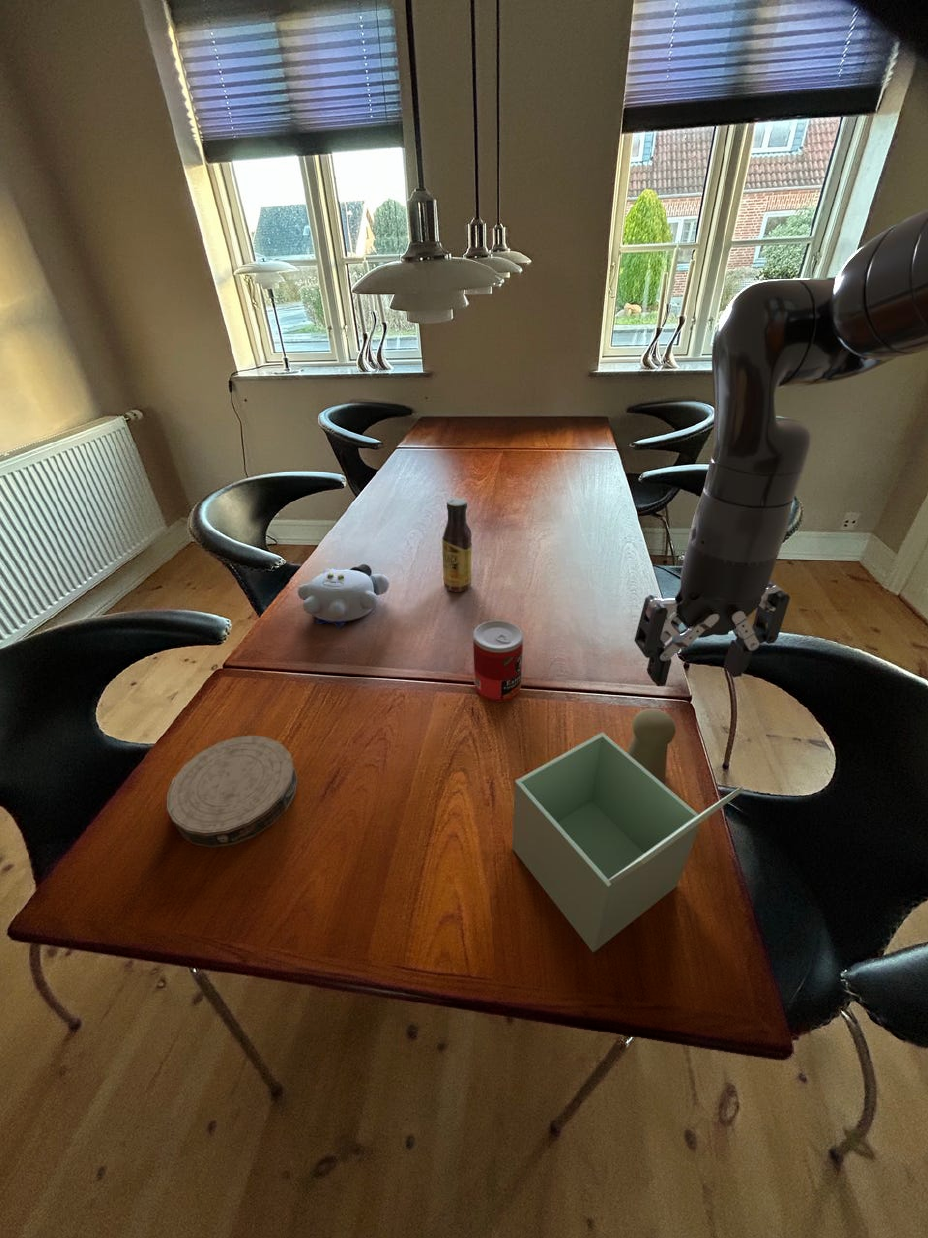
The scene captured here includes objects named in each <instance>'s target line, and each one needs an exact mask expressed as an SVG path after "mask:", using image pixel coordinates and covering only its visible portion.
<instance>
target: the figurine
mask: <svg viewBox="0 0 928 1238" xmlns="http://www.w3.org/2000/svg"><path fill="white" fill-rule="evenodd" d="M389 588H390V581H389V578H388V577H387V576H386V575H384V574H381V573H375V574H373V571H372V568H371V567H370V566H369V565H368V564H366V563H362V564H360V565H359V566H353V567H351V568H349V569H336V568H326V569H324V570H323V571H322V572H321V574H318V575H317V576H315V577H314V578H312V580H310V582H309V583H304V584H301V585H300V586H299V587H298V590H297V595H298V597H299V598H300V599H301V600H302V601H303V605H302V608H303V611H304V612H305V613H306V614H308V615H313V617H315V618H316V623H317V624H318V625H322V624H324V623H328V624H335V626H337V627H338V628H341V627H342V626H344V625H346V623H347V622H349V621H353V620H358V619H360V618H362V617H364V616H366V615H369V613H371V611H372V610H373V609H375V608H376V607H377V606H378V604H379V598H378V596H380V595H383V594H385V593H387V592H388V590H389Z"/></svg>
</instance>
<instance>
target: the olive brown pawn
mask: <svg viewBox="0 0 928 1238" xmlns="http://www.w3.org/2000/svg"><path fill="white" fill-rule="evenodd" d="M632 732H633V736H632V739H631V741H630V743H629V745H628V748H627V751H626V753H627V754H629V755H630V756H631V757H632V758H633V759H634V760H636V761H637V762H638V763H639V764H640V765H641V766H643V767H644V768H645V769H646V770H647V771H648V772H650V773H651V774H652V775H653V776H654V777H655V778H657V779H658V780H659V781H660V782H661V783H662V784H664V785H665V784H666V772H667V759H668V746H669V744H670V743H671V742H672V741H673V740H674V737H675V736H676V724H675V722H674V719H673V718H672V716H671V715H670V714H669V713H667V712H665V711H664V710H661V709H658V708H653V707H652V708H651V707H649V708H644V709H642V710H640V711H639V712H638V713H637V714H636V715H635V716H634V718H633V720H632Z"/></svg>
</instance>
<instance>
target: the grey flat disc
mask: <svg viewBox="0 0 928 1238" xmlns="http://www.w3.org/2000/svg"><path fill="white" fill-rule="evenodd" d="M297 785H298V778H297V773H296V769H295V766H294V762H293V760H292V755H291V753H290V752H289V750H288V749H287V748H286V746H284V744H282V742H279V741H278V740H275V739H273V738H271V737H269V736H261V735H243V736H235V737H232V738H229V739H225V740H223V741H219V742H216V743H215V744H213V745H211V746H209V747H207V748H205V749H203V750H201V751H200V752H199V753H197V754H196V755H194V757H192V758H191V759H190V760H188V761H187V762H186V763H185V764H183V766H182V767H181V769H180V770H179V771H178V772H177V773H176V775H175V776H174V777H173V779H172V781H171V784H170V785H169V788H168V791H167V793H166V811H167V812H168V814H169V816H170V817H171V820H172V822H173V823H174V825H175V827H176V828H177V831H178V832H179V834H180V836H181V837H182V838H184V839H185V840H187V841H188V842H190V843H191V844H193V845H195V846H201V847H206V848H221V847H229V846H234V845H237V844H239V843H242V842H244V841H248V840H251V839H253V838H255V837H256V836H258V835H259V834H261V833H263V832H265V830H267V829H269V828H270V827H272V826H273V825H274V824H275V823H276V822H278V820H279V818H280V817H282V815H284V813H285V812H286V811H287V810H288V808H289V806H290V804H291V802H292V800H293V799H294V797H295V795H296V790H297Z"/></svg>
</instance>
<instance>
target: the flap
mask: <svg viewBox="0 0 928 1238" xmlns="http://www.w3.org/2000/svg"><path fill="white" fill-rule="evenodd" d="M744 791H745V789H744V788H743V786H739V787H738V788H736V789H735V790H733V791H731V792H730V793H729V794H727V795H725V796H724V797H723V798H721V799H720V800H718V801H717V802H715V803H713V805H711V806H710V807H708V808H707V809H705V810H703V811H702V812H701V813H698V814H699V815H698V816H697V817H695V818H694V819H693V820H691V821H690V822H688V823H687V824H686V825H684V826H683V827H682V828H680V829H679V830H677V831H676V832H675V833H673V834H672V835H671V836H669V837H668V838H666V839H665V840H664V841H662V842H661V843H660V844H658V845H657V846H655V847H654V848H653V849H651V850H650V851H649V852H647V853H646V854H644V855H643V856H642V857H640V858H639V859H638V860H636V861H635V862H633V863H632V864H631V865H629V866H628V867H627V868H625V869H624V870H622V871H621V872H620V873H618V874H617V875H616V876H614V877H613V878H611V879H610V880H609V882H610V883H611V885H612V884H614V883H615V882H617V881H618V880H620V879H622V878H623V877H625V876H626V875H628V874H630V873H631V872H633V871H634V870H636V869H637V868H639V867H641V866H642V865H644V864H645V863H646V862H648V861H649V860H651V859H652V858H653V857H655V856H656V855H657V854H659V853H660V852H661V851H663V850H664V849H665V848H667V847H668V846H669V845H671V844H672V843H674V842H675V841H676V840H678V839H679V838H680V837H682V836H683V835H684V834H686V833H687V832H688V831H690V830H691V829H692V828H694V827H695V826H697V825H698V824H699V823H700V824H701V823H702V822H704V821H705V820H706V819H708V818H709V817H711V816H712V815H713V814H714V813H716V812H717V811H718V810H719V809H721V808H722V807H724V806H725V805H726V804H728V803H729V802H731V801H732V800H733V799H734V798H736V797H738V796H739V795H740V794H742V792H744Z"/></svg>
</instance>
